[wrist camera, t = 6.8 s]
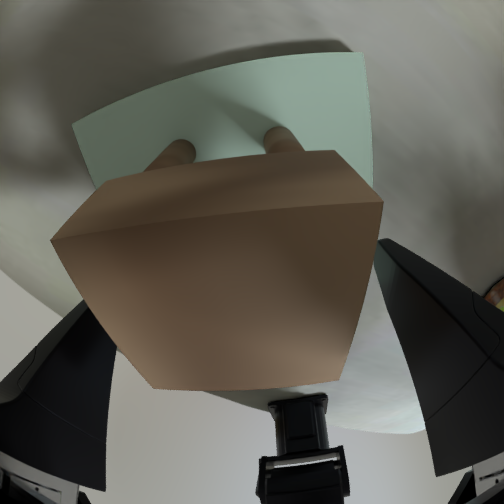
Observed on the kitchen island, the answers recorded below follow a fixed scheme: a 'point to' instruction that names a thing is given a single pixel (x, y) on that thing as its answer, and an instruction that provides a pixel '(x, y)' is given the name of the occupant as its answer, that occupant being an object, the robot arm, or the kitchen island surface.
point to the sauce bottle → (496, 295)
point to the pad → (236, 114)
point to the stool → (228, 265)
